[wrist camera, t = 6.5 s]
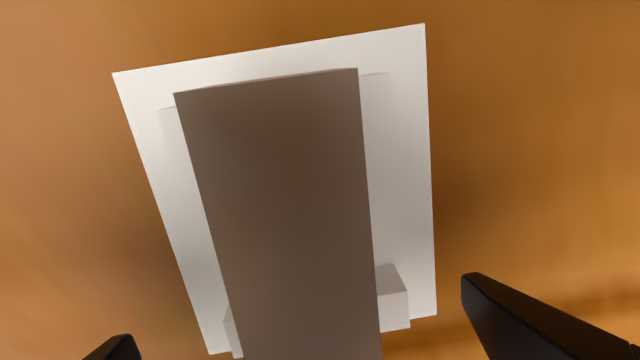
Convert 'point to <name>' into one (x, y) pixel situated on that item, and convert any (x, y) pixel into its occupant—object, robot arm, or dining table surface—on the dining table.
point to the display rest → (380, 154)
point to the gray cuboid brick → (288, 211)
